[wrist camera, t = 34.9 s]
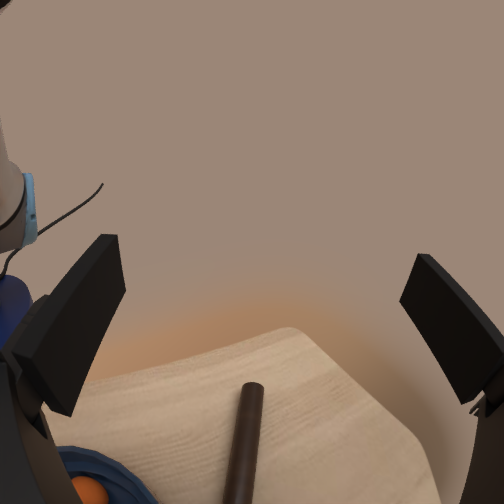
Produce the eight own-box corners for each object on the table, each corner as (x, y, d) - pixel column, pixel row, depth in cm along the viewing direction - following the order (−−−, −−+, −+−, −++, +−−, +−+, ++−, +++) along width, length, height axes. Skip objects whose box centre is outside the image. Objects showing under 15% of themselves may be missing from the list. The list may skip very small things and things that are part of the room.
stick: (249, 379, 30) (223, 548, 12) (268, 387, 30) (251, 551, 13) (238, 388, 31) (209, 546, 13) (256, 396, 31) (235, 550, 14)
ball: (80, 511, 11) (84, 522, 12) (117, 498, 14) (117, 510, 15) (56, 475, 13) (62, 490, 14) (92, 465, 16) (94, 480, 17)
